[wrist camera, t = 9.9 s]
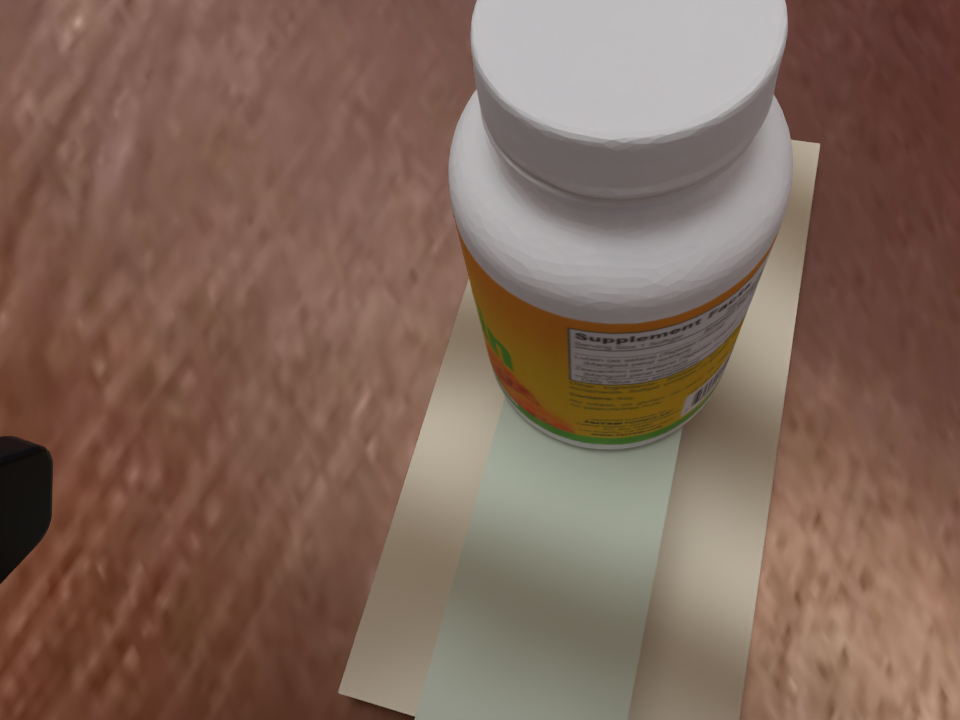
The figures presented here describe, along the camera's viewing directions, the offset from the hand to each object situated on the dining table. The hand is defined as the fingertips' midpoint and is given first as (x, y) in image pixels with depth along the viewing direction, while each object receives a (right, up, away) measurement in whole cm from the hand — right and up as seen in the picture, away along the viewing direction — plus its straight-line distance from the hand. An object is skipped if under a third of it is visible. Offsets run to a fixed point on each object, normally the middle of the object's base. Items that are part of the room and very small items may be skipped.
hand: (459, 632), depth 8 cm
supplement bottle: (+3, +3, +12) cm, 12 cm away
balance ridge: (+4, +1, +15) cm, 16 cm away
